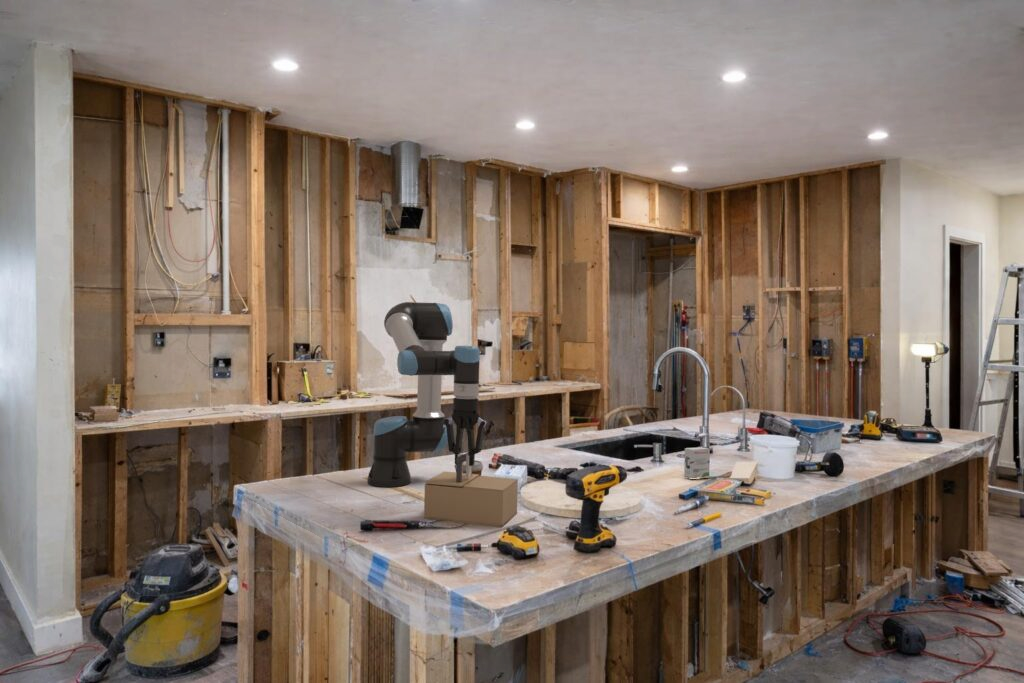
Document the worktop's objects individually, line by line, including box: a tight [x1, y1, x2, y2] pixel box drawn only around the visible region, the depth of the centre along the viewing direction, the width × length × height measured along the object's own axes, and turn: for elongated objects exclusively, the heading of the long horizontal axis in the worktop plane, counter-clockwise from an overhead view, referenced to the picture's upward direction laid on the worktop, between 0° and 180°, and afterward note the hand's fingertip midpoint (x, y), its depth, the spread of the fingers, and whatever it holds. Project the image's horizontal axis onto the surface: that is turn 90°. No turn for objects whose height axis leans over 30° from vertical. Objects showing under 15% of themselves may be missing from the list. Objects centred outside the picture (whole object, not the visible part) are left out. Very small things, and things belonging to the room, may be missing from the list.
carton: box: [423, 475, 519, 528], centre depth 204 cm, size 15×24×11 cm, turn 74°
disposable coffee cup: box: [454, 459, 484, 476], centre depth 224 cm, size 10×10×12 cm
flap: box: [424, 451, 479, 487], centre depth 205 cm, size 15×12×8 cm
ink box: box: [683, 446, 711, 479], centre depth 264 cm, size 9×5×12 cm, turn 112°
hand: (464, 475), depth 204 cm, fingers closed on flap, 2 cm apart
